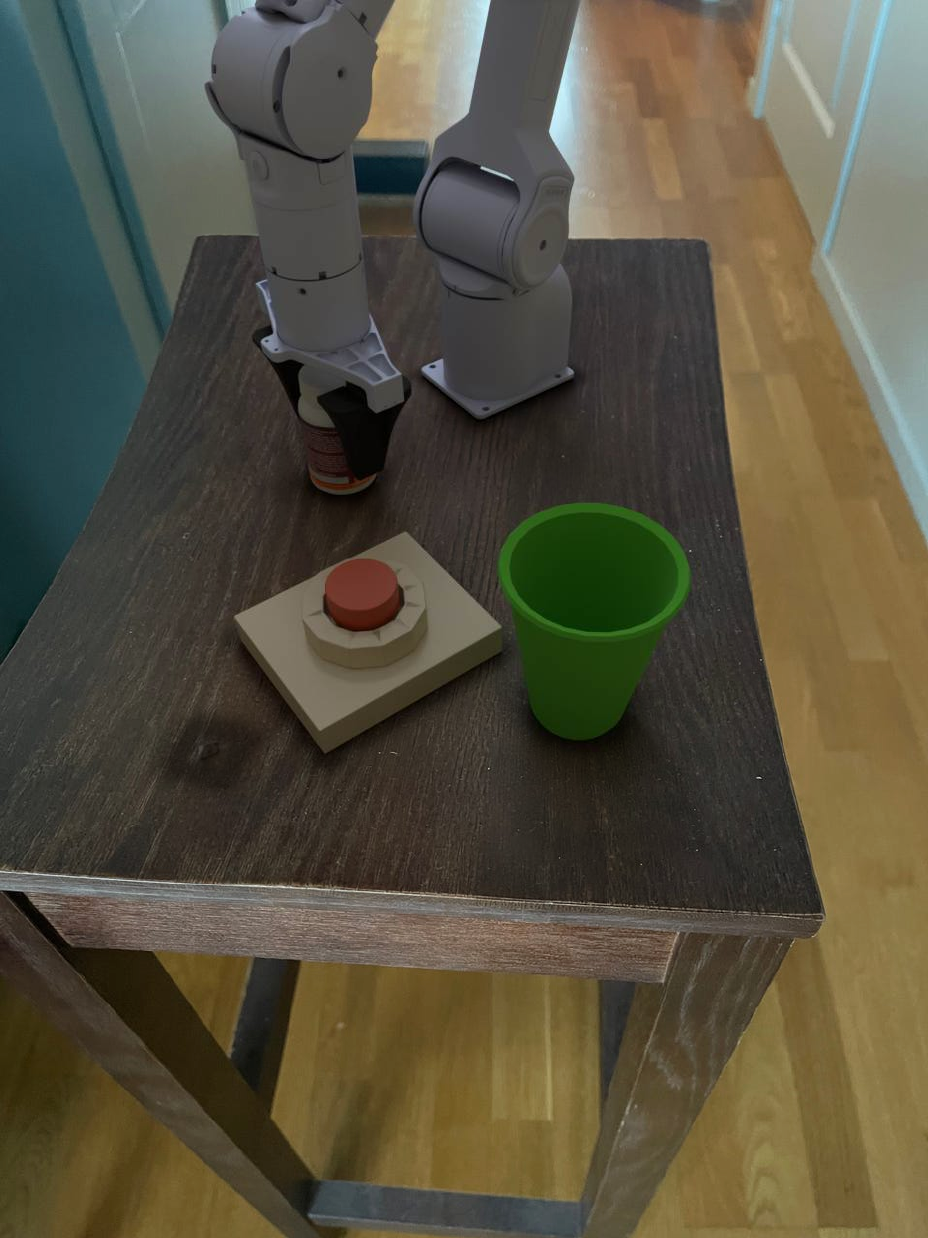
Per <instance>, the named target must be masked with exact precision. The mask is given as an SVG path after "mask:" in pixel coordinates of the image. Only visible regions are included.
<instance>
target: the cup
mask: <svg viewBox="0 0 928 1238" xmlns="http://www.w3.org/2000/svg"><path fill="white" fill-rule="evenodd" d="M496 571H497V576H498V577H497V578H498V584H499V586H500V589H501V590H502V592H503V594H504V596H505V598H506V600H507V601H508V602H509V603H510V609H511V614H512V619H513V624H514V630H515V634H516V640H517V644H518V645H517V646H518V649H519V654H520V660H521V666H522V670H523V675H524V680H525V681H524V682H525V685H526V690H527V691H526V692H527V695H528V701H529V707H530V709H531V711H532V713H533V715H534V717H535V718H536V719H537V720H538V722H539V723H540V724H541V725H542V726H543V728H545V729H546V730H547V731H549V732H550V733H551V734H554V735H556V736H558V737H560V738H563V739H567V740H572V741H587V740H593V739H595V738H598V737H601V736H603V735H604V734H605V733H607V732H608V731H610V730H611V729H613V728H614V727H616V725H617V724H618V723H619V721H620V720H621V719H622V717H623V715H624V713H625V711H626V709H627V707H628V704H629V702H630V701H631V698H632V696H633V694H634V692H635V690H636V688H637V686H638V684H639V682H640V680H641V677H642V675H643V674H644V672H645V669H646V667H647V665H648V663H649V661H650V660H651V657H652V655H653V653H654V651H655V649H656V647H657V645H658V644H659V641H660V639H661V636H662V634H663V633H664V631H665V628H666V626H667V624H668V622H670V621H671V620H673V619H674V618H675V616H676V615H677V614H678V613H679V612H680V610H681V609H682V608H683V607H684V606H685V604H686V601H687V599H688V595H689V593H690V590H691V587H692V585H691V582H692V580H691V579H692V578H691V577H692V576H691V574H692V571H691V567H690V565H689V562H688V559H687V556H686V553H685V551H684V550H683V548H682V546H681V545H680V543H679V542H678V541H677V539H676V538H675V536H674V535H673V534H672V533H670V532H669V531H668V530H667V529H666V528H665V527H663V526H662V525H661V524H660V523H659V522H657V521H655V520H653V519H651V518H650V517H648V516H647V515H645V514H643V513H640V512H638V511H635V510H632V509H629V508H626V507H624V506H621V505H614V504H608V503H603V502H573V503H568V504H567V503H566V504H560V505H556V506H552V507H550V508H547V509H544V510H541V511H539V512H537V513H535V514H533V515H532V516H530V517H528V518H527V519H524V520H523V521H522V522H521V523H519V525H518V526H516V527H515V529H513V530H512V531H511V532H510V534H509V535H508V537H507V538H506V540H505V542H504V544H503V545H502V547H501V548H500V550H499V554H498V560H497V565H496Z"/></svg>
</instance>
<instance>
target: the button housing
mask: <svg viewBox="0 0 928 1238" xmlns="http://www.w3.org/2000/svg"><path fill="white" fill-rule="evenodd" d="M362 558H367V559H374V560H378V561H381V562H383V563H385V564H387V565H388V566H389V567H390V568H391V569H392V570H393V571H394V572H395V574H396V577H397V581H398V590H399V599H400V605H399V609H398V611H397V613H396V615H395V616H394V618H393V619H392V620H391V621H389V622H388V623H387V624H385V625H384V626H382V627H380V628H377V629H374V630H369V631H353V630H349V629H346V628H343V627H342V626H340V625H338V624H337V623H336V622H335V621H334V620H333V619H332V617H331V615H330V613H329V609H328V604H327V599H326V593H325V583H326V580H327V577H328V576H329V574H330V573H331V572H332V571H333V570H334V569H335V568H336V567H337V566H339V565H341V564H342V563H345V562H347V561H350V560H354V559H362ZM233 619H234V623H235V627H236V629H237V632H238V635H239V638H240V639H239V640H240V641H241V642H242V644H243V645H244V647H245V648H246V649H247V651H248V652H249V654H250V655H251V657H252V658H253V659H254V660H255V662H256V663H257V665H258V666H259V667H260V668H261V670H262V671H263V672H264V674H265V675H266V676H267V678H268V679H269V681H270V682H271V684H272V685H273V686H274V687H275V689H276V690H277V691H278V692H279V693H278V694H280V696H281V697H282V698H283V699H284V701H285V702H286V703H287V705H288V706H289V708H290V709H291V711H292V712H293V713H294V714H295V715H296V717H297V718H298V720H299V721H300V722H301V724H302V726H303V727H304V728H305V729H306V730H307V732H308V733H309V734H310V736H311V737H312V739H313V740H314V741H315V743H316V744H317V745H318V747H319V748H320V749H321V751H322V752H323V753H324V754H327V753H329V752H331V751H333V750H334V749H336V748H337V747H340V746H342V745H343V744H344V743H346V742H348V741H350V740H351V739H353V738H355V737H357V736H359V735H360V734H362V733H364V732H365V731H367V730H369V729H370V728H373V727H374V726H376V725H378V724H379V723H381V722H383V721H384V720H387V719H388V718H389V717H391V716H393V715H394V714H397V713H398V712H400V711H401V710H403V709H405V708H406V707H408V706H410V705H412V704H414V703H415V702H417V701H419V700H420V699H422V698H423V697H425V696H428V695H429V694H430V693H432V692H434V691H435V690H437V689H439V688H441V687H442V686H445V685H446V684H448V683H449V682H452V681H453V680H455V679H457V678H458V677H461V675H463V674H465V673H466V672H469V671H470V670H472V669H473V668H476V667H477V666H478V665H481V664H483V663H485V662H486V661H487V660H489V659H490V658H492V657H494V656H496V655H497V654H499V653H501V652H502V649H503V627H502V625H501V624H500V623H499V622H498V621H497V620H496V619H495V618H494V617H493V616H491V614H490V613H489V612H488V611H487V610H485V608H484V607H482V605H480V603H479V602H478V601H477V600H476V599H475V598H474V597H473V596H471V595H470V593H469V592H468V591H467V590H466V589H464V588H463V586H462V585H460V583H458V582H457V581H456V579H455V578H453V576H452V575H451V574H450V573H449V572H448V571H447V570H445V569H444V568H443V566H441V565H440V563H438V561H437V560H435V559H434V558H433V557H432V556H431V555H430V554H429V553H428V551H426V549H424V548H423V547H422V545H420V543H419V542H417V540H415V539H414V537H412V535H410V534H409V533H408V532H407V531H406V530H405V531H403V532H401V533H399V534H397V535H395V536H393V537H391V538H390V539H387V540H384V541H383V542H381V543H379V544H376V545H374V546H373V547H371V548H369V549H367V550H364V551H363V552H361V553H359V554H357V555H355V556H352V557H351V558H350V557H349V558H345V559H343V560H341V561H339V562H337V563H335V564H333V565H331V566H329V567H327V568H325V569H323V570H321V571H319V572H318V573H317V574H316V575H314V576H312V577H310V578H308V579H306V580H304V581H302V582H300V583H298V584H296V585H294V586H292V587H290V588H287V589H286V590H284V591H282V592H279V593H278V594H275V595H273V596H271V597H269V598H268V599H266V600H263V601H261V602H259V603H258V604H256V605H254V606H252V607H250V608H247V609H246V610H244V611H242V612H239V613H237V614H236V615H233Z"/></svg>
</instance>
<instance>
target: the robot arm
mask: <svg viewBox="0 0 928 1238" xmlns="http://www.w3.org/2000/svg"><path fill="white" fill-rule="evenodd" d="M395 2H396V0H255V2H254V6H251V7H247V8H244V9H243V10H240V12H241V15H237V14H234V15H233V16H232V17H231V18H230V19H229V21H228V22H227V23H226V24H225V25H224V27H222V29H221V31H220V32H219V34H218V36H217V38H216V41H215V43H214V46H213V49H212V53H211V60H210V74H211V77H210V79H208V80H206V81H205V82H204V83H203V84H204V86H203V87H204V91H205V94H206V97H207V100H208V103H209V104H210V107H211V108H212V110H213V112H214V113H215V115H216V116H217V117H218V119H219V120H220V121H221V122H222V123H223V124H224V125H226V126H227V127H228V128H229V130H230V131H231V133H232V135H233V137H234V140H235V143H236V147H237V152H238V157H239V160H241V161H242V162H243V161H244V167H245V171H246V176H247V182H248V188H249V192H250V193H249V194H250V197H251V202H252V208H253V214H254V219H255V223H256V230H257V234H258V239H259V240H258V241H259V244H260V245H259V246H260V250H261V256H262V261H263V264H264V266H263V267H264V270H265V276H266V279H264V280H261V281H258V282H256V283H254V285H255V290H256V296H257V301H258V304H259V309H260V311H261V312H262V313H263V314H264V315H267V316H268V319H269V322H268V323H269V325H267V326H264V327H261V328H259V329H257V330H256V331H254V332H253V333H252V335H251V340H252V343H254V345H255V346H256V347H257V348H258V350H260V352H261V353H262V354H263V356H264V357H265V358H266V360H267V361H268V363H269V364H270V366H271V367H272V369H273V370H274V372H275V374H276V375H277V378H278V379H279V381H280V383H281V385H282V387H283V389H284V391H285V393H286V396H287V398H288V400H289V402H290V406H291V407H292V409H293V411H294V413H295V415H296V417H297V419H298V421H299V422H300V417H299V412H298V402H299V399H300V396H301V392H300V385H299V371H300V369H301V368H302V367H303V366H304V365H308V366H310V367H313V368H315V369H318V370H320V371H323V372H325V373H328V374H330V375H333V376H335V377H338V378H341V379H343V380H345V381H346V386H342V387H339V388H337V389H334V390H332V391H329V392H327V393H325V394H322V395H320V396H317V402H318V403H319V405H320V406H321V407H322V408H323V409H324V410H325V412H326V413H327V414H328V416H329V417H330V419H331V420H332V422H333V424H334V426H335V428H336V430H337V432H338V434H339V437H340V439H341V442H342V446H343V449H344V453H345V457H346V460H347V463H348V466H349V468H350V470H351V472H352V474H353V476H354V477H355V478H356V479H357V480H359V481H361V480H363V479H365V478H367V477H369V476H372V475H374V474H376V473H377V474H379V473H381V472H382V471H384V469H385V464H386V462H387V461H386V460H387V455H388V450H389V445H390V442H391V437H392V433H393V430H394V427H395V425H396V422H397V420H398V418H399V416H400V414H401V411H402V410H403V408H404V407H405V406H406V404H407V402H408V400H409V399H410V397H411V396H412V394H413V393H412V392H413V391H412V383H411V380H410V379H409V378H408V377H406V376H405V375H404V374H402V373H401V372H400V371H399V370H398V369H397V367H395V365H394V364H393V363H392V360H391V359H390V357H389V355H388V353H387V350H386V347H385V345H384V343H383V340H382V338H381V335H380V333H379V330H378V328H377V325H376V324H375V320H374V317H373V316H372V315H371V313H370V307H369V297H368V286H367V277H366V268H365V267H366V266H365V257H364V250H363V242H362V232H361V221H360V213H359V202H358V194H357V193H358V191H357V183H356V173H355V163H354V162H355V161H354V153H353V143H354V141H355V140H356V139H357V137H358V135H359V134H360V132H361V130H362V129H363V128H364V126H366V124H367V122H368V119H369V117H370V113H371V108H372V100H373V72H374V68H375V65H376V62H377V60H378V58H379V56H378V55H377V52H378V50H379V44H378V43H377V42H376V41H377V39H378V37H379V35H380V32H381V31H382V29H383V26H384V24H385V22H386V20H387V18H388V17H389V14H390V12H391V11H392V8H393V6H394V4H395ZM580 5H581V0H490V1H489V6H488V11H487V12H488V13H487V16H486V20H485V21H486V22H485V26H484V33H483V37H482V41H481V46H480V52H479V57H478V62H477V68H476V73H475V78H474V83H473V87H472V93H471V98H470V102H469V109H468V112H467V113H466V115H464V116H463V117H462V118H461V119H460V120H458V121H456V122H455V123H453V124H452V125H451V126H450V127H448V128H447V129H445V130H444V131H443V132H441V133H439V134H438V136H436V137H435V139H434V142H433V149H432V153H431V159H430V162H429V164H428V168H427V170H426V172H425V174H424V176H423V178H422V180H421V181H420V184H419V186H418V188H417V190H416V194H415V197H414V202H413V207H412V208H413V210H412V225H413V230H414V234H415V236H416V238H417V240H418V242H419V243H420V244H421V246H422V247H424V248H425V249H426V250H428V251H431V266H432V268H434V269H435V270H437V271H438V273H439V293H440V294H439V296H440V316H441V317H440V319H441V322H440V323H441V347H442V358H441V359H438V360H436V361H434V362H430V363H428V364H427V365H423V366H422V367H421V368H420V370H421V372H420V373H421V375H422V376H423V377H424V378H425V379H427V380H428V381H429V382H430V383H432V384H433V385H434V386H436V387H437V388H438V389H439V390H440V391H442V392H443V393H444V394H445V395H447V396H448V397H449V398H450V399H451V400H453V401H454V402H455V403H456V404H458V405H459V406H460V407H461V408H463V409H464V410H465V411H466V412H467V413H469V414H470V415H471V416H473V417H474V418H475V419H477V420H484V419H486V418H489V417H490V416H493V415H495V414H497V413H500V412H501V411H504V410H506V409H508V408H510V407H512V406H514V405H517V404H519V403H521V402H523V401H525V400H528V399H530V398H533V397H534V396H536V395H539V394H541V393H543V392H545V391H547V390H550V389H552V388H555V387H557V386H558V385H560V384H563V383H565V382H567V381H569V380H572V379H573V378H574V377H575V371H574V370H573V368H570V367H569V366H568V363H569V352H570V351H569V350H570V340H571V339H570V336H571V325H572V313H573V293H572V288H571V287H572V286H571V283H570V280H569V277H568V275H567V272H566V270H565V268H564V266H563V265H562V264H561V262H562V260H563V257H564V255H565V253H566V250H567V246H568V241H569V236H570V218H569V217H570V201H571V195H572V192H573V187H574V184H575V180H576V179H575V175H574V173H573V171H572V168H571V167H570V165H569V164H568V163H567V160H566V159H565V158H564V156H563V155H562V153H561V151H560V150H559V148H558V146H557V145H556V144H555V142H554V140H553V138H552V136H551V133H550V129H551V125H552V121H553V117H554V113H555V108H556V104H557V100H558V97H559V96H558V95H559V91H560V88H561V84H562V79H563V75H564V70H565V68H566V67H565V66H566V63H567V58H568V55H569V49H570V46H571V42H572V38H573V34H574V31H575V30H574V29H575V26H576V21H577V18H578V13H579V9H580ZM482 167H483V168H485V169H488V170H491V171H493V172H491V171H488V170H485V169H483V168H482ZM497 173H498V174H497ZM499 174H502V175H503V176H502V175H499ZM505 176H507V177H505Z"/></svg>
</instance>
